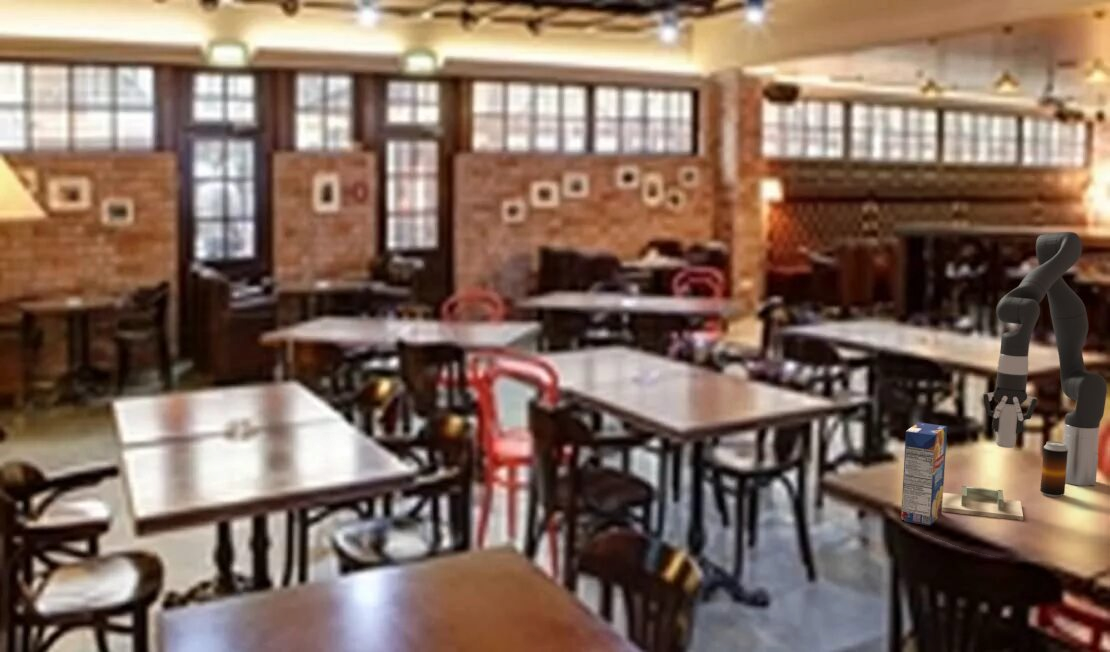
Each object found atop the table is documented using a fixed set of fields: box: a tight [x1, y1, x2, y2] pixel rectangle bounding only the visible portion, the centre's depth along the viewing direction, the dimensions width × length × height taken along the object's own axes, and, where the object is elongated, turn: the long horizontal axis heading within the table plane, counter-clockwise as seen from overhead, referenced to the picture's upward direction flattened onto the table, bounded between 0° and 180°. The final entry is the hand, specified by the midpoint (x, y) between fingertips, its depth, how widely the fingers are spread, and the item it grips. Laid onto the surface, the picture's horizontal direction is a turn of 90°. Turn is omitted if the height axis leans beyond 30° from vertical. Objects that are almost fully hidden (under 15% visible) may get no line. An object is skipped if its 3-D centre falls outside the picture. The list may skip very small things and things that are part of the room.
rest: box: [942, 485, 1024, 521], centre depth 288 cm, size 20×14×4 cm
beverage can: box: [1040, 440, 1068, 498], centre depth 300 cm, size 6×6×15 cm
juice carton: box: [900, 422, 948, 526], centre depth 279 cm, size 12×8×24 cm, turn 146°
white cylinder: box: [995, 404, 1018, 449], centre depth 289 cm, size 5×5×12 cm
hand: (1006, 432), depth 290 cm, fingers closed on white cylinder, 5 cm apart
